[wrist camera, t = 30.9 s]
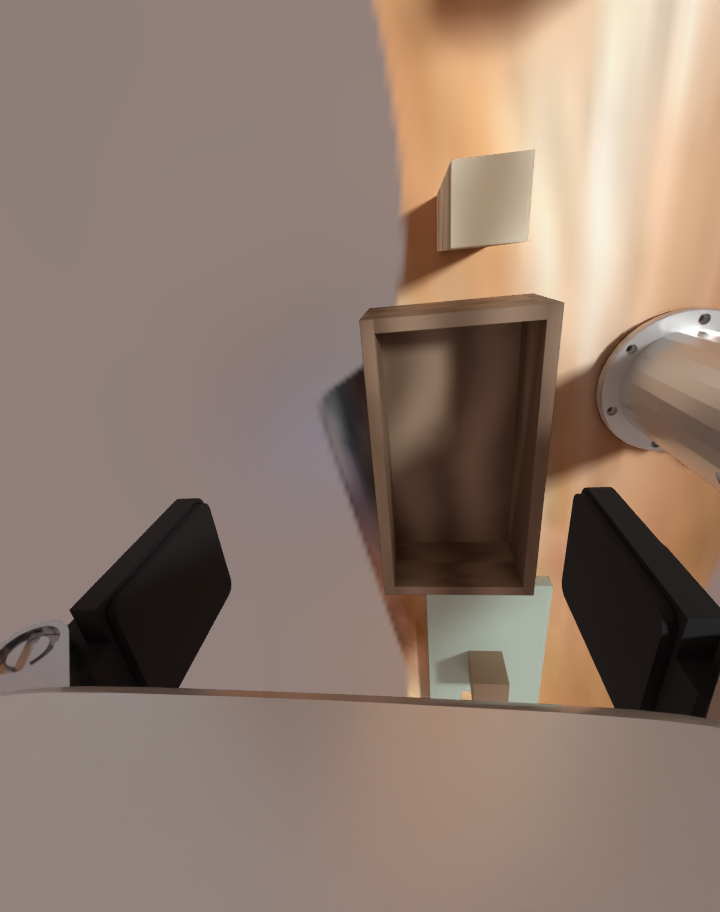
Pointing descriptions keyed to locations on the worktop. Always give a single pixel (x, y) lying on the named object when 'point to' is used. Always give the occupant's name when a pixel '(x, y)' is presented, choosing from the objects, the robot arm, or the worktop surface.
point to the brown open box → (461, 440)
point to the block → (485, 201)
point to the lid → (488, 644)
